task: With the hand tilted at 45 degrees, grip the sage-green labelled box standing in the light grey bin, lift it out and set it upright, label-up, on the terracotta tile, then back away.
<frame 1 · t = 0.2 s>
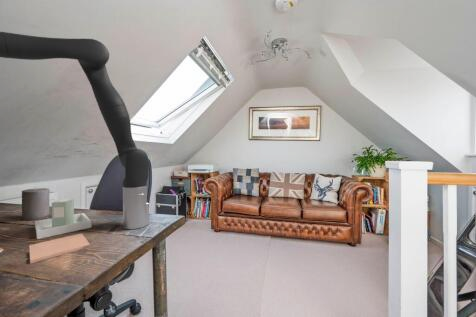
pillar candle: (36, 217, 99), on the table
sage box: (63, 227, 83), point 1 cm above the table, touching grey bin
grey bin: (63, 229, 83), on the table
terracotta tile: (59, 247, 67), on the table
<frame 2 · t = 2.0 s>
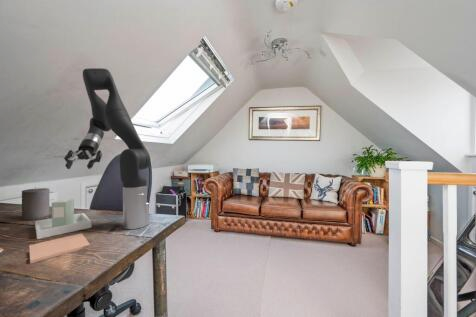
hand: (78, 167, 93), 25 cm above the table, tool tilted 45°, fingers open, 8 cm apart
nothing on the table moved.
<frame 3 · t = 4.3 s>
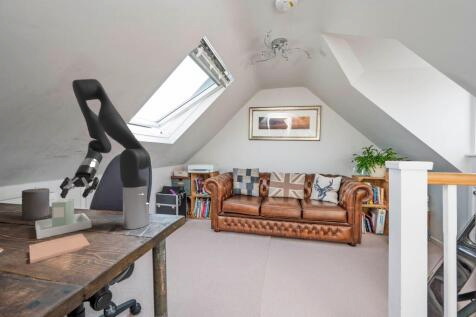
hand: (73, 197, 89), 12 cm above the table, tool tilted 45°, fingers open, 8 cm apart
nothing on the table moved.
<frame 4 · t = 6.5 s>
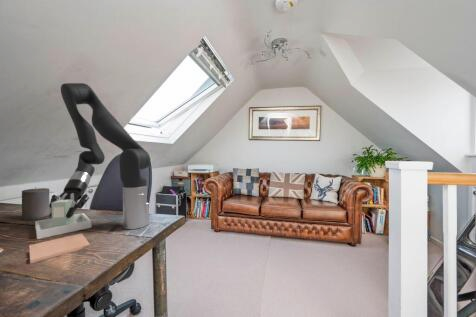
hand: (60, 217, 81), 6 cm above the table, tool tilted 45°, fingers closed on sage box, 5 cm apart
sage box: (63, 227, 83), point 1 cm above the table, touching grey bin, gripper
everything else where it was.
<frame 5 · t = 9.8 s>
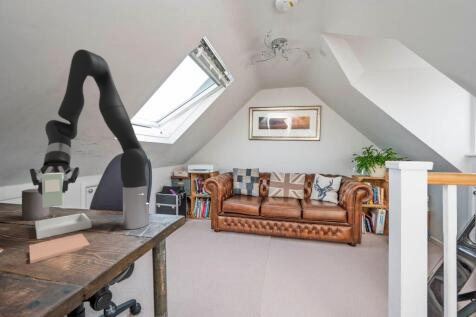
hand: (53, 192, 69), 18 cm above the table, tool tilted 45°, fingers closed on sage box, 5 cm apart
sage box: (54, 204, 71), point 13 cm above the table, touching gripper
everything else where it was.
when the fingers open (7 cm above the table, at t = 13.0 s): sage box drops 1 cm, resting on terracotta tile.
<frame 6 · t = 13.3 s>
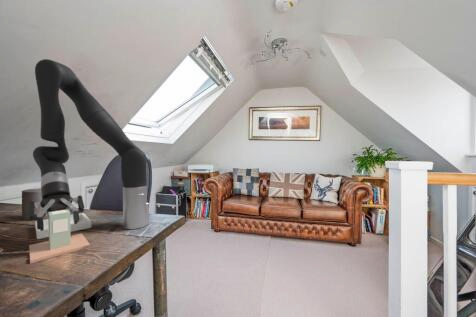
hand: (59, 226, 66), 8 cm above the table, tool tilted 45°, fingers open, 8 cm apart
sage box: (59, 244, 67), point 1 cm above the table, touching terracotta tile
everything else where it was.
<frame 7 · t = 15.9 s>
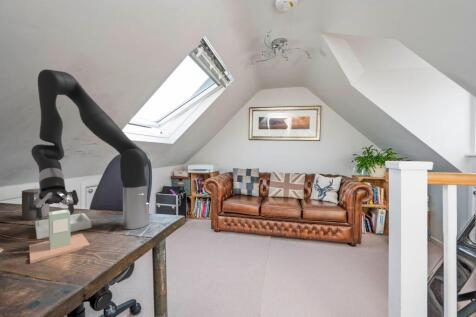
hand: (56, 215, 75), 8 cm above the table, tool tilted 45°, fingers open, 8 cm apart
nothing on the table moved.
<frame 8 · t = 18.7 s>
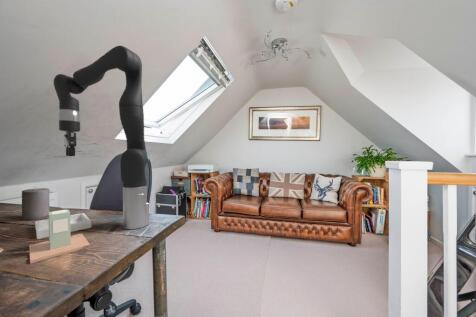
hand: (70, 156, 93), 30 cm above the table, tool pointing down, fingers open, 8 cm apart
nothing on the table moved.
at the end: sage box inside the target area on the terracotta tile (0.1 cm from its centre), point 0.8 cm above the terracotta tile's base; sage box tilted 0°; the gripper is holding nothing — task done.
